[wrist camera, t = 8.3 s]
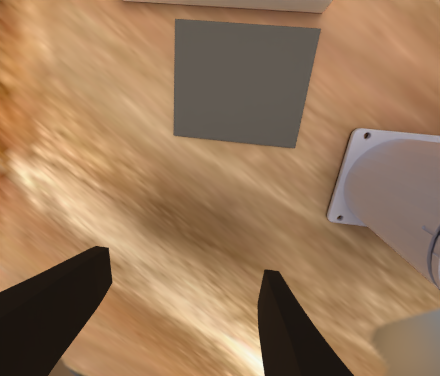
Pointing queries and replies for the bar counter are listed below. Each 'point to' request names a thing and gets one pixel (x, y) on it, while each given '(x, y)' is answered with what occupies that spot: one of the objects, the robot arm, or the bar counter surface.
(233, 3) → the block
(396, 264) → the bar counter surface
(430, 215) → the robot arm
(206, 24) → the mat
